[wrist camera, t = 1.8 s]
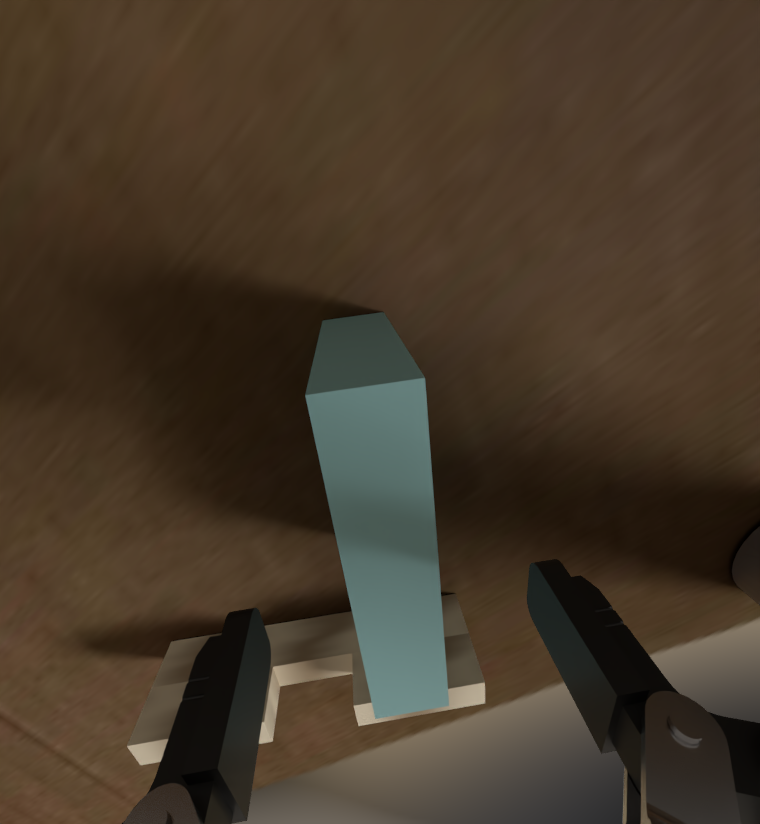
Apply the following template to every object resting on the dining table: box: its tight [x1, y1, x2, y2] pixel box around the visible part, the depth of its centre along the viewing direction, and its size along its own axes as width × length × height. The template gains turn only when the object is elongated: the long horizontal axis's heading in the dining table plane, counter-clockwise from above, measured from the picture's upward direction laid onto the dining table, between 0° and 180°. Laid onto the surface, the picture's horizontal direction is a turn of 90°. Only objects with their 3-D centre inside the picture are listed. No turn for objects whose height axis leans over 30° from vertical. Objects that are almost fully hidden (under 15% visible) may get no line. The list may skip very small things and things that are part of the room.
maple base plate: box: [127, 594, 485, 765], centre depth 24 cm, size 20×2×6 cm, turn 97°
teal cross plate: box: [305, 312, 449, 719], centre depth 17 cm, size 14×3×10 cm, turn 7°
